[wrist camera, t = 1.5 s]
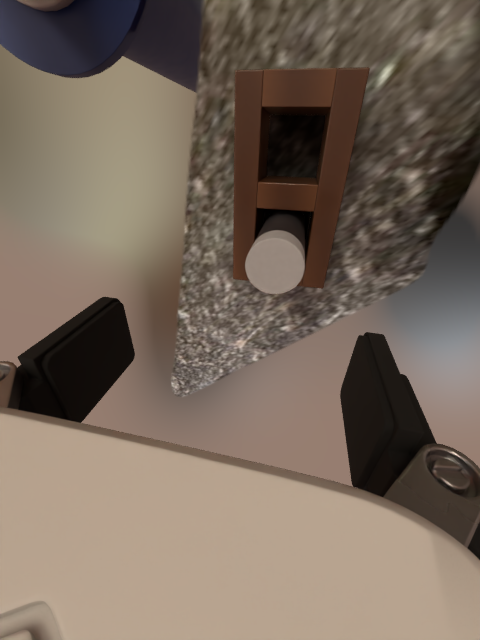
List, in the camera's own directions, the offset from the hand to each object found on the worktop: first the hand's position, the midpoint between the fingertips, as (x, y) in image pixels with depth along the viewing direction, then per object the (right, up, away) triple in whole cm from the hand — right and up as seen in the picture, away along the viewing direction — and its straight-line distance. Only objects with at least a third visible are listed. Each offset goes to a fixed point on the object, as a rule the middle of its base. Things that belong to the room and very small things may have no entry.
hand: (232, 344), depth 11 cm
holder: (+5, +14, +16) cm, 22 cm away
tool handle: (+5, +11, +18) cm, 22 cm away
